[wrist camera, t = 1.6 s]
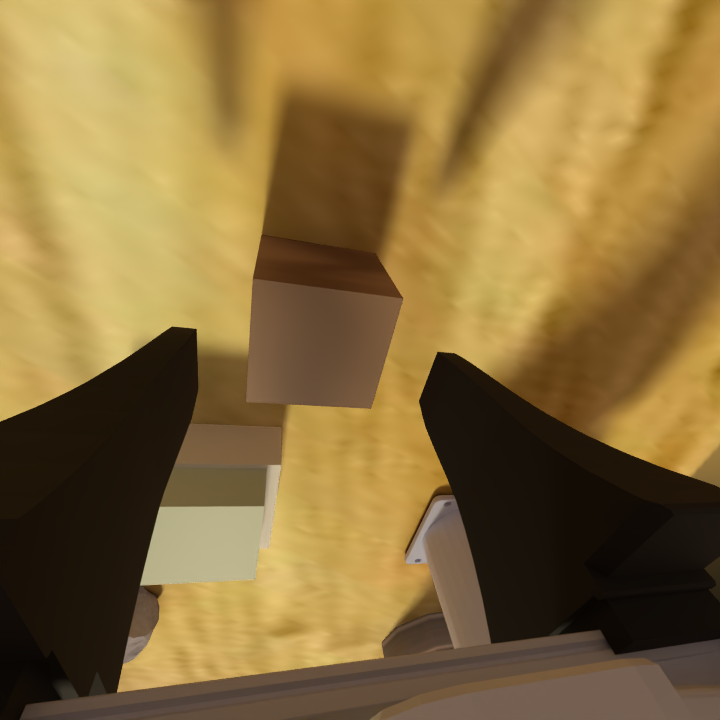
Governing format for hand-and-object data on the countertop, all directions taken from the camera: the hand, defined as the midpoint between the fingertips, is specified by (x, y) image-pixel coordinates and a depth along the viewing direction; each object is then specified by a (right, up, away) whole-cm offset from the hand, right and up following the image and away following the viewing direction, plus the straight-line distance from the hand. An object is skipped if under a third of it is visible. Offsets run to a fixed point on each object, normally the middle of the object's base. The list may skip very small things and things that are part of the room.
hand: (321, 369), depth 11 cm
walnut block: (-1, +3, +5) cm, 6 cm away
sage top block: (-7, -7, +7) cm, 12 cm away
